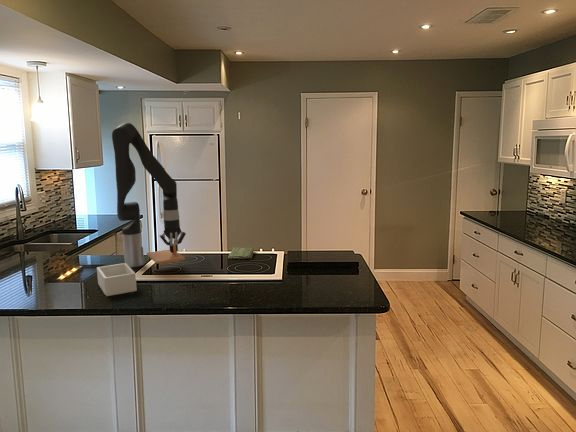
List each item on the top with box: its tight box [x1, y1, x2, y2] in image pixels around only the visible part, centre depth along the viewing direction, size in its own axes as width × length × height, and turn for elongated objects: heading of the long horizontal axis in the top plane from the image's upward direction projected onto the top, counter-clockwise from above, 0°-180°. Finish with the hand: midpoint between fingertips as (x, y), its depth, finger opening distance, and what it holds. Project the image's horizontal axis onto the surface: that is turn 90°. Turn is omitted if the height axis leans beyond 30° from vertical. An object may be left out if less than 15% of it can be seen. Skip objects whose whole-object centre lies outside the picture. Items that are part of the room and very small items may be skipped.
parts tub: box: [96, 262, 138, 297], centre depth 221 cm, size 13×20×8 cm, turn 30°
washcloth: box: [227, 247, 255, 260], centre depth 272 cm, size 13×18×3 cm
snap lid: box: [146, 242, 186, 265], centre depth 244 cm, size 14×21×7 cm, turn 29°
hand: (173, 252), depth 246 cm, fingers closed on snap lid, 1 cm apart
